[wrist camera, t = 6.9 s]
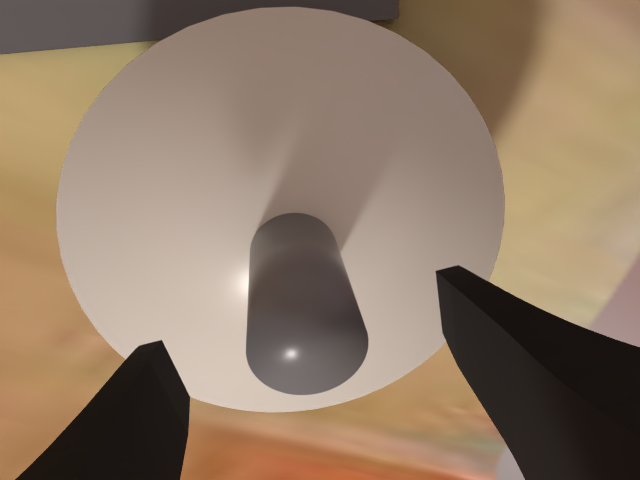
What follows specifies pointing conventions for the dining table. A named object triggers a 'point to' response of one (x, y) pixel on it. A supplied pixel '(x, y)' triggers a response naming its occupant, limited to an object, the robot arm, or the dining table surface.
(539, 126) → the dining table surface
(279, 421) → the dining table surface
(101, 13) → the mat
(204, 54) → the lid
